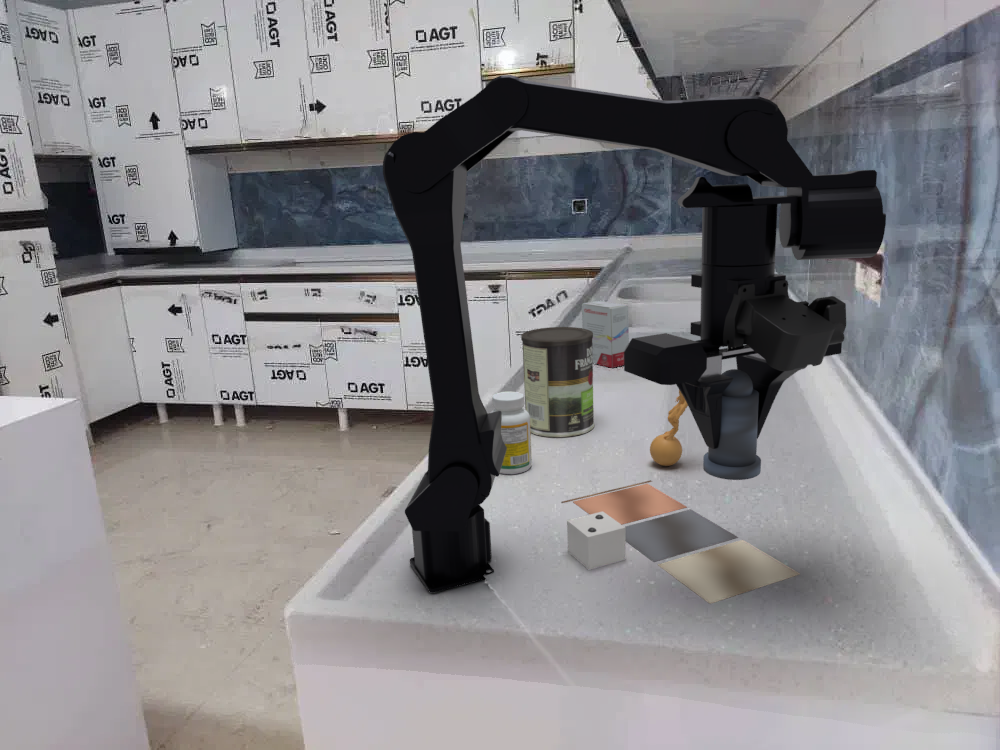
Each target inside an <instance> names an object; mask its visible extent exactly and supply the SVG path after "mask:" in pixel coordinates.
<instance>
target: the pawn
mask: <svg viewBox="0 0 1000 750" xmlns="http://www.w3.org/2000/svg"><path fill="white" fill-rule="evenodd" d="M721 374H722V375H725V376H728V377H732V378H733V381H732V382H731V383H730V384H729V385H728V387H727V388H726V389H725V390H724V391H723V393H722V409H721V431H720V439H719V445H718V448H717V449H712V448H710V447H708V446H707V448H708V450H707V452H705V453H704V455H703V461H702V462H703V464H702V468H703V471H704V472H705V473H706V474H708V475H709V476H712V477H714V478H717V479H721V480H722V479H723V480H729V481H730V480H731V481H732V480H733V481H745V480H749V479H753V478H756V477H758V476H759V475H760V474H761V473H762V472H761V470H762V468H761V467H762V459H761V457H760V456H758V454H757V451H758V450H757V448H758V439H757V427H758V403H759V392H758V391H756V390H754V389H753V384H752V380H751V378H750V377H749V376H748V375H747V374H746V373H745V372H743V371H741V370H737V368H736V369H735V368H734V369H733V368H732V369H728V370H726V371H723V373H722V372H721Z"/></svg>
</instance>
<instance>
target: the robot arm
mask: <svg viewBox="0 0 1000 750" xmlns="http://www.w3.org/2000/svg"><path fill="white" fill-rule="evenodd" d="M787 124H788V123H787V121H786V117H785V115H784V114H783V112H782V111H781V109H780V108H779V106H778V104H777V103H775V102H774V101H773V100H771V99H768V98H765V97H762V96H759V95H741V96H739V95H738V96H716V97H715V96H713V97H700V98H691V99H689V98H688V99H679V100H664V99H663V100H662V99H655V98H648V97H642V96H637V95H636V96H634V95H628V94H621V93H614V92H606V91H601V90H600V91H599V90H594V89H587V88H579V87H573V86H565V85H560V84H559V85H558V84H554V83H553V84H551V83H544V82H539V81H530V80H525V79H522V78H520V77H518V76H515V75H512V74H503V75H499V76H497V77H493V78H492V79H491V80H490V81H489V82H488V83H487V84H486V85H485V87H483V88H482V90H480V91H479V92H478V93H477V94H475V95H474V96H472V97H471V98H470V99H468V100H467V101H465V102H463V103H462V104H460V105H459V106H457V107H456V108H455V109H453V110H452V111H450V112H448V113H447V114H446V115H444V116H443V117H441V118H440V119H438V121H436V122H435V123H434V124H432V125H431V126H430V127H429V128H428V129H426V130H425V131H424V132H421V131H414V132H409V133H406V134H403V135H401V136H400V137H399V138H397V139H396V140H395V141H394V142H392V144H391V145H390V147H389V148H388V150H387V151H386V152H385V154H384V157H383V161H382V175H383V178H384V180H383V181H384V183H385V186H386V190H387V192H388V196H389V199H390V202H391V205H392V209H393V211H394V214H395V218H396V219H397V221H398V224H399V226H400V228H401V229H402V232H403V234H404V235H405V238H406V240H407V243H408V245H409V247H410V251H411V253H412V260H413V268H414V274H415V281H416V289H417V290H416V291H417V298H418V303H419V309H420V310H419V311H420V317H421V325H422V332H423V341H424V347H425V353H426V362H427V363H426V364H427V368H428V375H429V382H430V383H429V384H430V390H431V397H432V405H433V413H432V415H433V416H432V421H431V426H430V427H431V429H430V436H429V443H428V455H427V457H428V459H427V471H425V472H424V474H423V476H422V478H421V480H420V481H419V483H418V486H417V488H416V489H415V491H414V493H413V495H412V497H411V498H410V501H409V502H408V504H407V506H406V507H405V508H404V515H405V516H406V519H407V521H408V522H409V525H410V528H411V532H412V533H411V534H412V546H413V554H414V555H413V557H411V558H409V565H410V567H411V568H412V570H413V572H415V574H416V576H417V577H418V578H419V580H420V581H421V582H422V583H421V584H423V586H424V588H426V590H427V592H428V593H432V594H434V593H438V592H441V591H445V590H449V589H452V588H457V587H461V586H465V585H468V584H471V583H474V582H478V581H482V580H485V579H486V577H485V576H488V575H492V574H494V573H495V569H494V568H493V567H492V565H490V562H491V561H492V542H491V541H492V539H491V522H490V521H489V520H488V519H487V518H485V509H484V508H483V507H482V506H481V504H483V503H484V502H485V501H486V499H488V497H489V496H490V494H491V492H492V489H493V485H494V481H495V479H496V477H499V476H500V474H501V473H500V470H501V467H502V463H503V460H504V457H505V453H506V450H507V447H506V445H505V444H504V442H503V439H502V435H501V421H502V412H501V411H496V412H492V411H491V412H492V413H491V412H489V413H488V412H487V409H486V407H485V405H484V403H483V401H482V399H481V396H480V393H479V383H478V377H477V376H478V375H477V369H476V359H475V354H474V353H475V352H474V343H473V335H472V328H471V319H470V311H469V304H468V302H469V301H468V296H467V294H468V293H467V287H466V285H467V284H466V279H465V271H464V264H463V263H464V262H463V261H464V260H463V255H462V253H463V252H462V246H461V245H462V244H461V242H462V241H461V240H462V233H463V224H464V217H465V209H466V200H467V199H466V196H467V195H466V194H467V176H468V175H467V174H468V172H469V171H470V170H472V169H473V168H475V166H477V165H478V164H480V163H481V162H482V161H483V160H484V159H485V158H486V157H488V156H489V155H490V154H491V153H492V152H494V150H496V149H497V148H499V146H500V145H501V144H502V143H503V142H504V141H505V140H507V139H508V138H509V137H511V135H513V134H514V133H515V132H517V131H518V132H519V131H524V132H530V133H538V134H544V135H550V136H557V137H564V138H571V139H577V140H584V141H591V142H596V143H597V142H598V143H604V144H611V145H617V146H625V147H632V148H639V149H646V150H650V151H654V152H658V153H660V154H663V155H666V156H669V157H672V158H674V159H677V160H678V161H682V162H685V163H687V164H690V165H693V166H697V167H699V168H701V169H702V168H703V169H705V170H708V171H711V172H713V173H716V174H719V175H722V176H727V177H730V176H731V177H747V178H749V179H751V180H752V181H754V182H755V183H757V184H758V185H760V186H762V187H772V188H774V187H776V188H786V195H767V196H765V195H764V196H753V191H752V189H751V186H750V185H749V183H739V184H738V183H737V184H735V183H734V184H719V185H716V184H715V185H712V184H711V183H710V182H709V181H708V180H707V178H706V177H705V176H698V177H696V178H695V179H694V181H693V184H692V185H691V187H690V188H689V189H688V190H687V191H686V192H685V193H683V194H682V195H681V196H680V197H679V198H678V199H677V205H678V206H680V207H682V208H685V209H696V208H697V209H698V208H702V219H701V220H702V221H701V222H702V223H701V224H702V226H701V227H702V228H701V265H700V266H701V272H700V273H692V274H690V275H691V278H690V279H691V281H690V283H691V285H690V287H693V288H698V289H700V320H699V321H692V322H690V335H694V336H697V337H700V339H698V340H693V339H689V338H685V337H682V336H677V335H674V334H671V333H667V332H665V333H658V334H652V335H651V334H650V335H646V336H645V335H644V336H639V337H632V338H631V339H630V340H629V344H628V345H627V346H626V348H625V351H624V365H623V371H624V372H626V373H629V374H630V375H634V376H637V377H640V378H643V379H644V380H647V381H651V382H653V383H656V384H658V385H662V386H674V385H676V386H677V389H678V391H679V390H680V392H681V393H682V395H683V397H684V399H685V400H686V402H687V404H688V406H687V407H688V408H689V411H690V412H691V415H692V417H693V419H694V421H695V423H696V425H697V429H698V430H699V432H700V435H701V438H702V439H703V441H704V444H705V445H706V447H707V448H708V447H710V448H712V449H717V448H718V445H719V439H720V431H721V409H722V393H723V391H724V390H725V389H726V388H727V387H728V385H729V384H730V383H731V382H732V381H733V378H732V377H728V376H725V375H722V370H723V369H722V367H723V365H722V364H723V363H722V361H723V360H728V359H733V358H735V360H736V369H737V370H741V371H743V372H745V373H746V374H747V375H748V376H749V377H750V378H751V380H752V384H753V389H754V390H756V391H758V392H759V403H758V427H757V440H758V439H759V437H760V434H761V432H762V430H763V428H764V425H765V423H766V420H767V418H768V416H769V413H770V411H771V410H772V406H773V404H774V402H775V399H776V397H777V395H778V393H779V392H780V390H781V388H782V386H783V384H784V382H785V381H786V380H787V379H789V378H790V377H792V376H793V375H795V374H796V373H798V372H799V371H802V370H805V369H806V368H807V367H808V366H812V367H816V366H819V365H821V364H822V363H823V360H824V358H825V357H829V356H835V355H841V354H842V350H843V349H842V348H843V347H842V346H843V342H844V341H845V330H846V328H847V304H846V302H844V301H842V300H841V299H839V298H837V297H836V296H834V295H832V296H831V295H830V296H825V297H824V296H823V297H818V298H815V299H814V300H812V302H810V303H809V301H807V300H804V301H802V300H801V301H795V300H794V299H792V298H790V296H789V282H788V280H787V279H786V278H787V275H785V274H779V273H778V274H777V273H775V271H776V270H775V269H776V247H777V246H776V244H777V228H778V232H779V233H778V236H779V242H780V245H781V247H782V248H784V249H789V248H790V249H791V253H792V254H793V257H794V258H795V259H796V261H805V260H806V261H807V260H808V261H810V260H812V261H813V260H814V261H815V260H833V259H834V260H835V259H836V260H838V259H865V258H872V257H875V256H876V255H877V254H878V252H879V250H880V249H881V246H882V244H883V241H884V238H885V237H884V236H885V231H886V223H887V214H886V213H885V212H884V207H883V206H884V205H883V199H882V195H881V191H880V190H879V188H878V186H877V181H878V179H877V177H878V172H877V171H876V170H875V169H862V170H861V169H859V170H858V169H857V170H850V171H846V172H842V173H832V174H831V173H830V174H829V173H828V174H817V175H816V174H813V173H812V172H811V170H810V169H809V168H808V166H807V165H806V164H805V163H804V161H803V160H802V158H801V157H800V155H799V154H798V153H797V151H796V150H795V149H794V148H793V146H792V145H791V143H790V142H789V140H788V135H789V134H788V133H789V128H788V125H787ZM778 205H780V211H779V220H778ZM777 223H778V225H777ZM777 226H778V227H777ZM721 347H722V348H721Z"/></svg>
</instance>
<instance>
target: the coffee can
mask: <svg viewBox="0 0 1000 750" xmlns="http://www.w3.org/2000/svg"><path fill="white" fill-rule="evenodd" d="M520 338H521V341H522V359H523V360H522V361H523V362H522V363H523V384H524V385H523V386H524V387H523V388H524V403H525V404H524V407H525V408H524V409H525V410H526V411H527V412H528V413H529V415H530V431H531V434H533V435H537V436H540V437H546V438H547V437H548V438H569V437H576V436H580V435H581V436H582V435H584V434H587V433H589V432H591V431H592V430H593V429H594V428H595V422H594V420H595V419H594V416H595V415H594V374H593V373H594V364H593V353H592V338H593V332H592V331H590V330H587V329H583V328H582V327H576V326H575V327H573V326H553V327H541V328H535V329H530V330H528V331H526V332H522V333H521V336H520Z"/></svg>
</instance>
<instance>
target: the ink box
mask: <svg viewBox="0 0 1000 750" xmlns="http://www.w3.org/2000/svg"><path fill="white" fill-rule="evenodd" d="M581 320H582V322H581V323H582V324H581V325H582V327H581V328H583V329H587V330H590V331H592V332H593V338H592V353H593V363H595V364H594V365H597V364H599V365H598V366H602V367H607V368H611V369H613V368H618V367H622V366H624V351H625V348H626V346H627V345H628V344H629V342H630V336H629V328H630V327H629V305H628V304H625V303H624V304H623V303H616V302H610V301H603V300H601V301H600V300H599V301H598V300H597V301H589V302H583V303H582V304H581Z"/></svg>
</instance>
